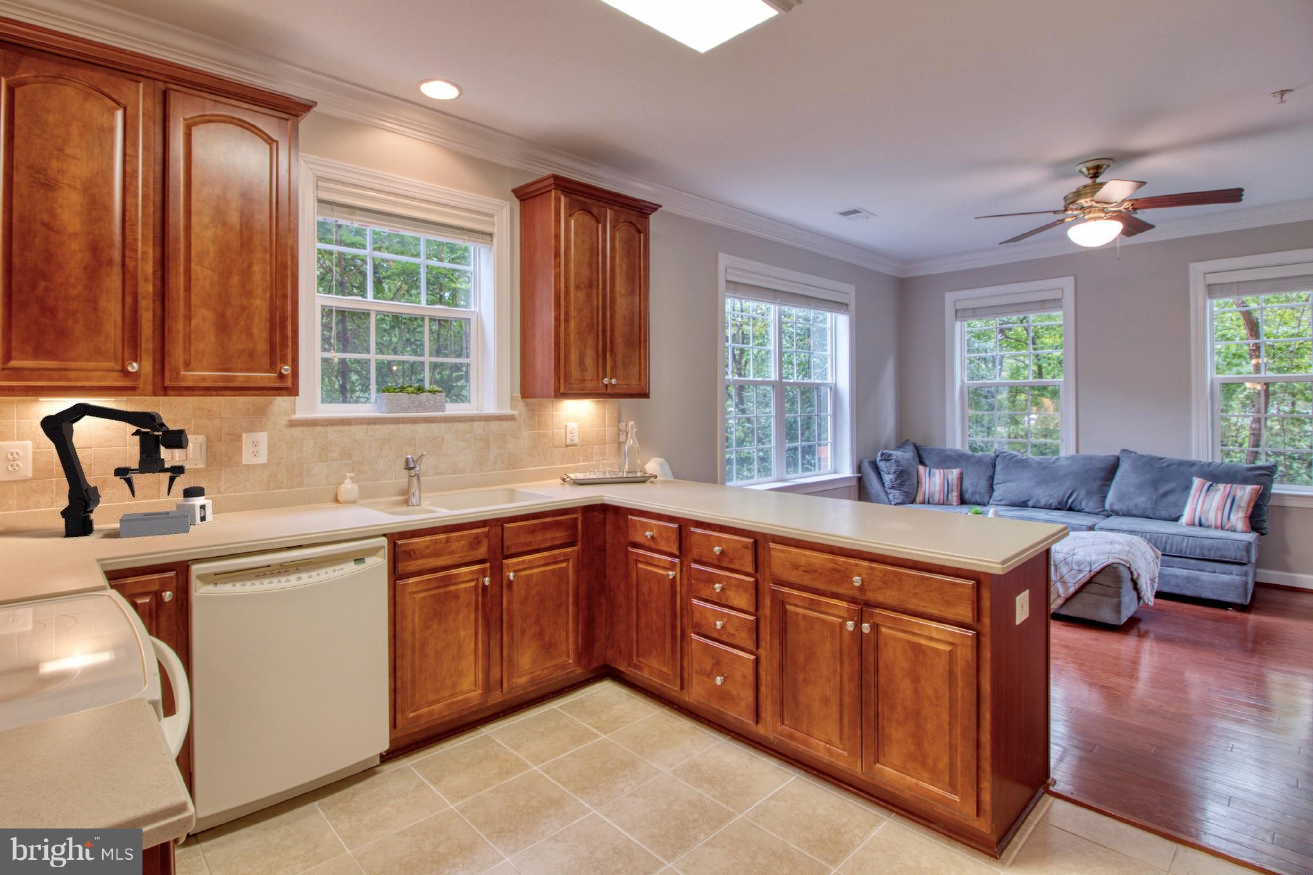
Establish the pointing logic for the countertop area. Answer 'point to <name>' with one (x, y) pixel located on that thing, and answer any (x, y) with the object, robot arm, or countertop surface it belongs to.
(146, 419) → the robot arm
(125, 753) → the countertop surface
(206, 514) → the container
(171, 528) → the box
